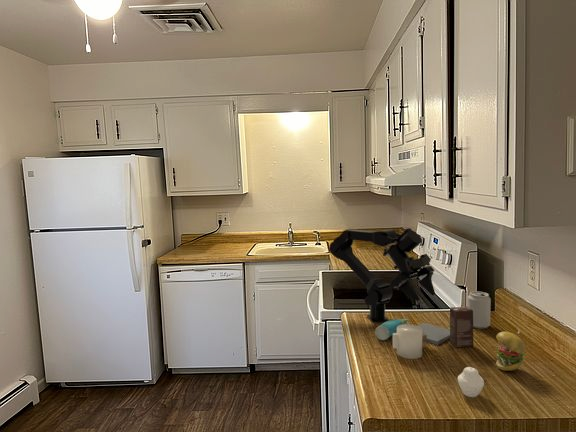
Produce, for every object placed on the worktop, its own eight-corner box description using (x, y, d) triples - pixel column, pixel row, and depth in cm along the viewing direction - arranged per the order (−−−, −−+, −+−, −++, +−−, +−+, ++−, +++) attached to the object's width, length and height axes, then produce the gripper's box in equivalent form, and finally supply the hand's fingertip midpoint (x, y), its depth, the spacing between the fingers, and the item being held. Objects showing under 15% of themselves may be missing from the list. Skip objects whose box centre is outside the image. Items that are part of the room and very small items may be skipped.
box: (466, 341, 136) (466, 305, 135) (473, 346, 131) (474, 310, 130) (448, 342, 135) (449, 306, 134) (455, 348, 131) (456, 311, 130)
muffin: (467, 402, 100) (468, 374, 100) (452, 389, 106) (452, 363, 105) (489, 398, 102) (490, 371, 101) (473, 386, 108) (473, 360, 107)
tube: (371, 324, 139) (389, 312, 156) (371, 339, 139) (390, 325, 156) (392, 326, 135) (409, 314, 152) (393, 341, 135) (409, 327, 152)
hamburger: (493, 361, 121) (494, 322, 120) (521, 365, 118) (522, 324, 117) (497, 373, 114) (498, 331, 113) (526, 377, 111) (528, 334, 110)
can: (493, 329, 145) (494, 296, 144) (472, 329, 146) (473, 296, 144) (484, 321, 153) (485, 290, 152) (463, 322, 153) (464, 290, 152)
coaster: (405, 334, 142) (405, 331, 142) (424, 325, 150) (424, 322, 150) (437, 345, 133) (437, 341, 133) (455, 335, 141) (455, 331, 141)
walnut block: (408, 344, 135) (408, 332, 134) (418, 342, 136) (418, 330, 136) (416, 349, 131) (416, 337, 130) (426, 347, 132) (426, 335, 132)
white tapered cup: (415, 347, 132) (415, 323, 131) (426, 357, 125) (426, 332, 124) (388, 349, 131) (388, 325, 130) (398, 360, 123) (398, 334, 123)
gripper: (399, 250, 137) (426, 291, 130) (431, 243, 148) (457, 280, 141) (379, 268, 144) (404, 307, 137) (411, 260, 155) (435, 296, 148)
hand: (426, 297), depth 141 cm, fingers open, 9 cm apart
